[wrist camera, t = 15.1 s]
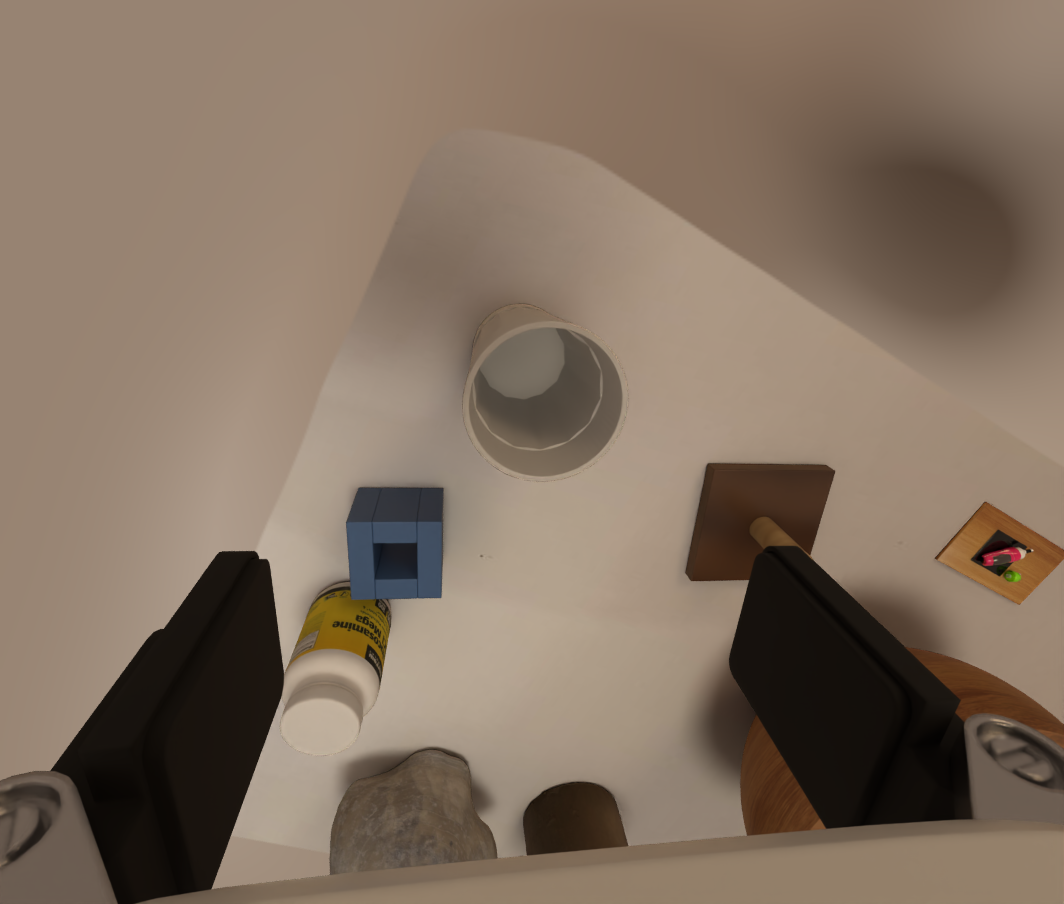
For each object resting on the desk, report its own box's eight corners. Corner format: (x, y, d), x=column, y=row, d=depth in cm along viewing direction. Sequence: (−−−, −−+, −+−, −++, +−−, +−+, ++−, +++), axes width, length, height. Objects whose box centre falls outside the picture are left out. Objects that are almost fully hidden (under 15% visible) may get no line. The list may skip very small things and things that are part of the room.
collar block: (358, 487, 40) (345, 522, 35) (443, 487, 40) (442, 521, 36) (362, 558, 42) (351, 600, 37) (442, 557, 43) (441, 598, 38)
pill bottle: (409, 609, 44) (395, 725, 34) (355, 655, 45) (326, 780, 35) (348, 563, 42) (314, 673, 32) (293, 613, 43) (243, 733, 33)
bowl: (922, 541, 48) (1110, 669, 34) (950, 721, 58) (1104, 877, 44) (659, 656, 49) (738, 824, 36) (730, 813, 59) (814, 993, 46)
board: (1017, 603, 53) (1032, 613, 51) (935, 558, 49) (948, 568, 48) (1067, 552, 51) (1084, 561, 50) (985, 501, 47) (1001, 510, 46)
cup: (572, 408, 39) (619, 481, 28) (459, 408, 38) (462, 482, 27) (582, 293, 36) (638, 323, 25) (460, 288, 35) (462, 318, 24)
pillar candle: (535, 779, 53) (563, 971, 40) (629, 783, 55) (686, 969, 42) (513, 846, 57) (531, 1045, 43) (602, 848, 59) (647, 1039, 45)
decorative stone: (517, 764, 52) (539, 957, 39) (474, 834, 55) (480, 1037, 42) (360, 729, 48) (323, 932, 34) (323, 808, 51) (275, 1023, 38)
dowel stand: (707, 463, 42) (749, 503, 36) (826, 464, 44) (885, 503, 38) (685, 573, 46) (719, 626, 40) (795, 571, 48) (844, 621, 42)
